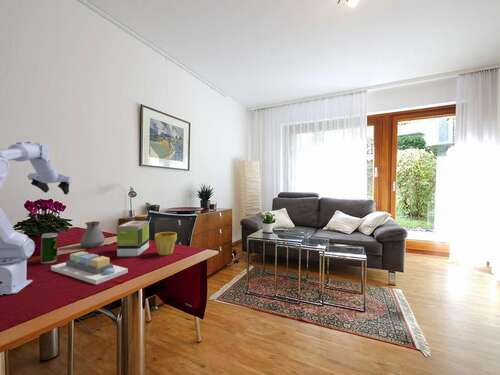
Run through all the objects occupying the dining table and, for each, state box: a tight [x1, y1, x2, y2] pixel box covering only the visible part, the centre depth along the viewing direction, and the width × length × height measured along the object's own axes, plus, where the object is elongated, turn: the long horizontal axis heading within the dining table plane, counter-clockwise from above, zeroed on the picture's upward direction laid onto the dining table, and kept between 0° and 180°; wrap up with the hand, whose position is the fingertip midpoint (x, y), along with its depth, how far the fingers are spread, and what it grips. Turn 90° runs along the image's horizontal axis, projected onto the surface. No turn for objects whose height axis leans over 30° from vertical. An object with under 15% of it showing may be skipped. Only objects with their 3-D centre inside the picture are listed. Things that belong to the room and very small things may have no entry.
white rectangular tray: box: [50, 259, 129, 285], centre depth 88 cm, size 28×12×4 cm, turn 66°
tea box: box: [116, 220, 150, 257], centre depth 114 cm, size 15×10×15 cm, turn 5°
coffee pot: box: [79, 221, 106, 249], centre depth 118 cm, size 21×12×15 cm, turn 35°
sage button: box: [69, 251, 90, 262], centre depth 90 cm, size 4×4×3 cm
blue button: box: [80, 253, 100, 265], centre depth 88 cm, size 4×4×3 cm
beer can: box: [40, 232, 59, 265], centre depth 97 cm, size 5×5×12 cm
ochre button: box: [90, 255, 111, 268], centre depth 85 cm, size 4×4×3 cm
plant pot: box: [154, 231, 178, 256], centre depth 112 cm, size 10×10×10 cm
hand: (57, 191), depth 98 cm, fingers open, 7 cm apart
